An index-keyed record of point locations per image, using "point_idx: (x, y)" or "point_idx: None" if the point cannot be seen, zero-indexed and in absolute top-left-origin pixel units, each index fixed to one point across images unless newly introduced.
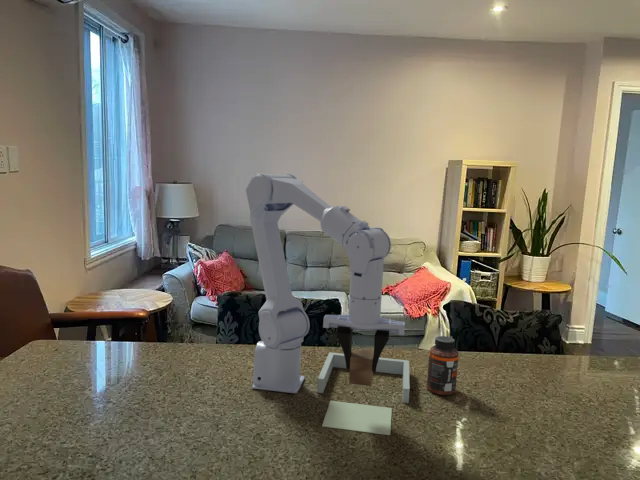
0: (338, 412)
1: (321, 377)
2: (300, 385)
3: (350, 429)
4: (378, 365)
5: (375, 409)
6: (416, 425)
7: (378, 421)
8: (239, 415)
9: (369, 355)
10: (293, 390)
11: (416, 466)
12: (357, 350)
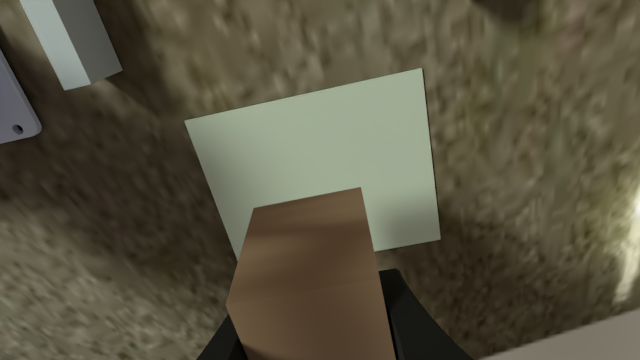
0: (251, 188)
1: (69, 68)
2: (6, 67)
3: None
4: None
5: (363, 110)
6: (519, 148)
7: (392, 185)
8: (14, 312)
9: (367, 345)
10: (19, 123)
11: (516, 326)
12: (262, 306)
